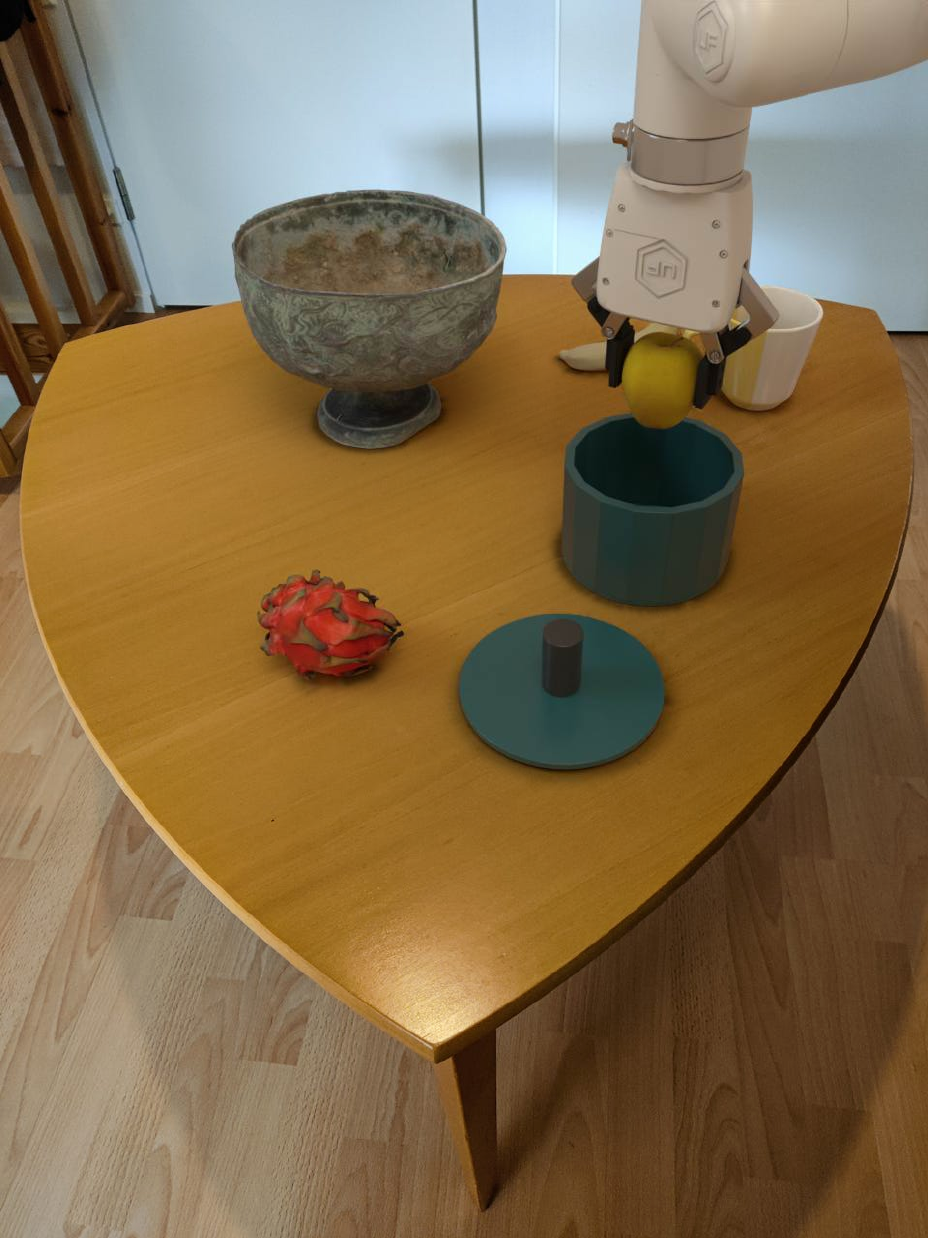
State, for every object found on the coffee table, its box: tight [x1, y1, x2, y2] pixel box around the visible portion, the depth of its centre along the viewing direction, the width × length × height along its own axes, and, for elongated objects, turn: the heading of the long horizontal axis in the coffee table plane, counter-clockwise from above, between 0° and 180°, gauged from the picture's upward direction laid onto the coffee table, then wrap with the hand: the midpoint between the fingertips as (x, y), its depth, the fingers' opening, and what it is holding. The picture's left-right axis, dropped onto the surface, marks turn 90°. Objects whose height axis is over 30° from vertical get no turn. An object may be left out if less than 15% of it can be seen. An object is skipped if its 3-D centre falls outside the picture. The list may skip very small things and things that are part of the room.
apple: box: [621, 332, 704, 429], centre depth 78 cm, size 6×6×8 cm
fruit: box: [558, 322, 679, 372], centre depth 114 cm, size 7×15×3 cm, turn 118°
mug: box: [682, 285, 824, 412], centre depth 104 cm, size 14×10×10 cm
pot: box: [560, 412, 745, 607], centre depth 86 cm, size 15×15×10 cm
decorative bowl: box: [231, 189, 508, 450], centre depth 102 cm, size 26×26×20 cm
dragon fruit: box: [256, 569, 405, 682], centre depth 79 cm, size 8×8×12 cm
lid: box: [458, 613, 666, 770], centre depth 75 cm, size 16×16×7 cm
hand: (661, 387), depth 78 cm, fingers closed on apple, 6 cm apart
